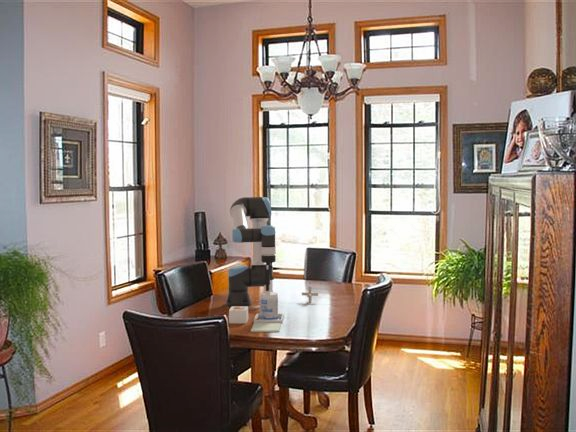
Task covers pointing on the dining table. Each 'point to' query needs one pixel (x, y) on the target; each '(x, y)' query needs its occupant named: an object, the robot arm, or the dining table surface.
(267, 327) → the mat
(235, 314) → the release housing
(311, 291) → the pipe connector
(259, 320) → the frame
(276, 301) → the supplement tub
